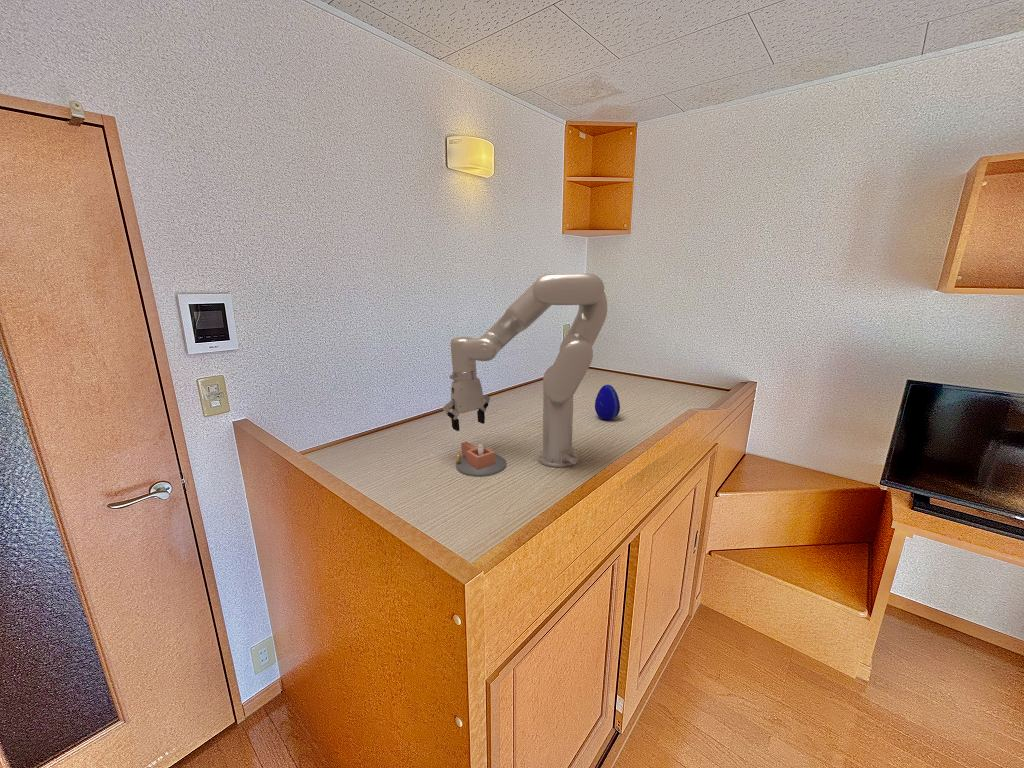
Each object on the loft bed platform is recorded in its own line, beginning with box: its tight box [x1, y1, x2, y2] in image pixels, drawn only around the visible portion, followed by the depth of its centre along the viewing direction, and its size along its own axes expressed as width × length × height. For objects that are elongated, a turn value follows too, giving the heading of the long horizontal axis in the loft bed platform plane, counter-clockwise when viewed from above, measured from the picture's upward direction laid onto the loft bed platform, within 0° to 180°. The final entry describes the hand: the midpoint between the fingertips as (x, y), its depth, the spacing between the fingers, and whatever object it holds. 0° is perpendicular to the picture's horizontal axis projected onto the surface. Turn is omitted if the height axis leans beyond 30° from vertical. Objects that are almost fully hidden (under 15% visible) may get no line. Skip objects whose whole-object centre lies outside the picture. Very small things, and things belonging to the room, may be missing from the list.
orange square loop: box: [460, 441, 496, 470], centre depth 134 cm, size 14×7×4 cm, turn 38°
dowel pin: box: [455, 453, 461, 464], centre depth 131 cm, size 1×1×3 cm
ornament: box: [594, 384, 621, 420], centre depth 173 cm, size 11×9×15 cm
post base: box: [455, 443, 507, 478], centre depth 131 cm, size 16×16×7 cm
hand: (469, 426), depth 136 cm, fingers open, 9 cm apart
